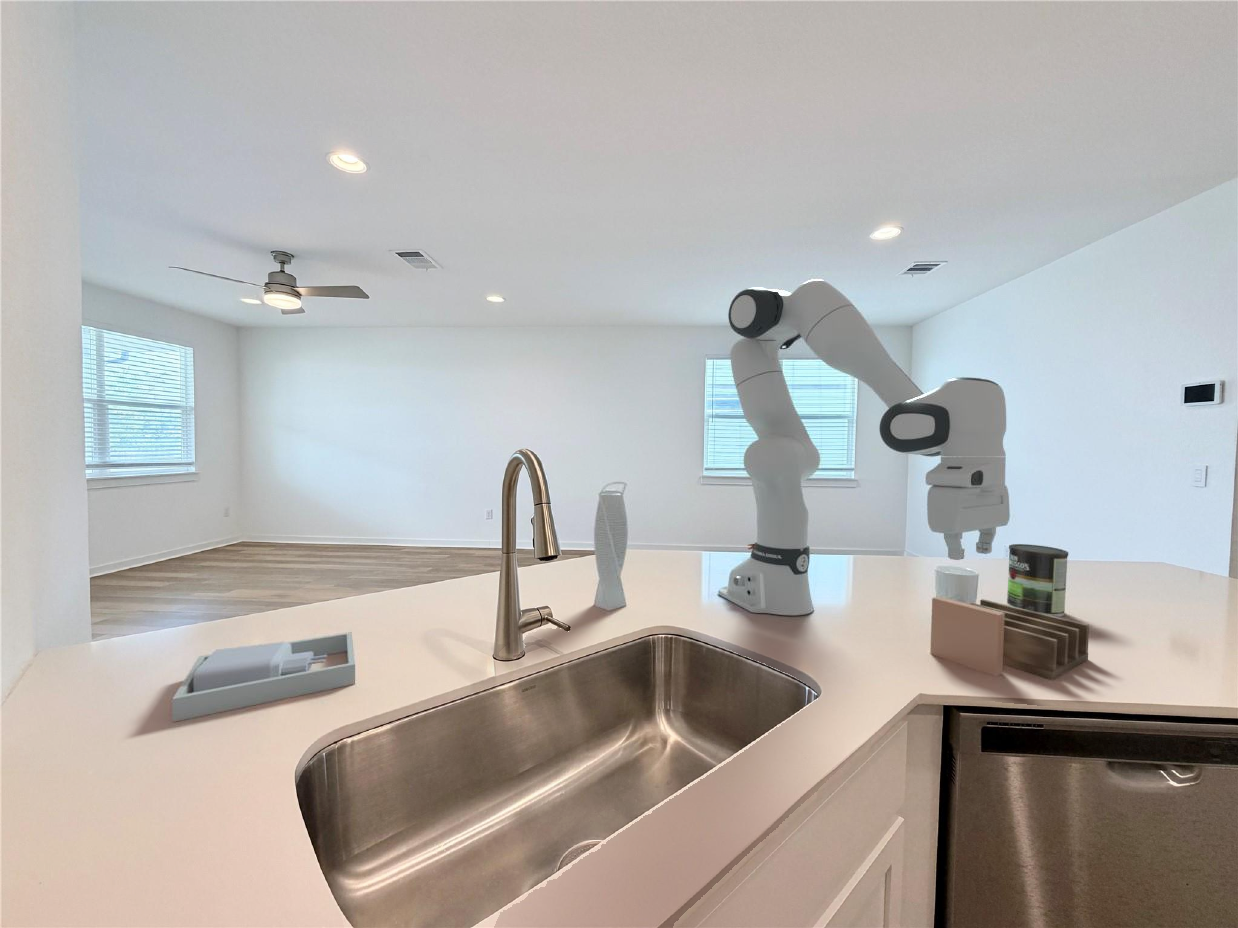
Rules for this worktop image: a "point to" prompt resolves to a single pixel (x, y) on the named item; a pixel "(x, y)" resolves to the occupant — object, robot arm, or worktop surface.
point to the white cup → (956, 583)
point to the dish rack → (1041, 641)
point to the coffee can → (1037, 578)
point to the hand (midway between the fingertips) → (970, 556)
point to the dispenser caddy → (269, 681)
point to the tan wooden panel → (968, 635)
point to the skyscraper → (610, 547)
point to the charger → (251, 665)
